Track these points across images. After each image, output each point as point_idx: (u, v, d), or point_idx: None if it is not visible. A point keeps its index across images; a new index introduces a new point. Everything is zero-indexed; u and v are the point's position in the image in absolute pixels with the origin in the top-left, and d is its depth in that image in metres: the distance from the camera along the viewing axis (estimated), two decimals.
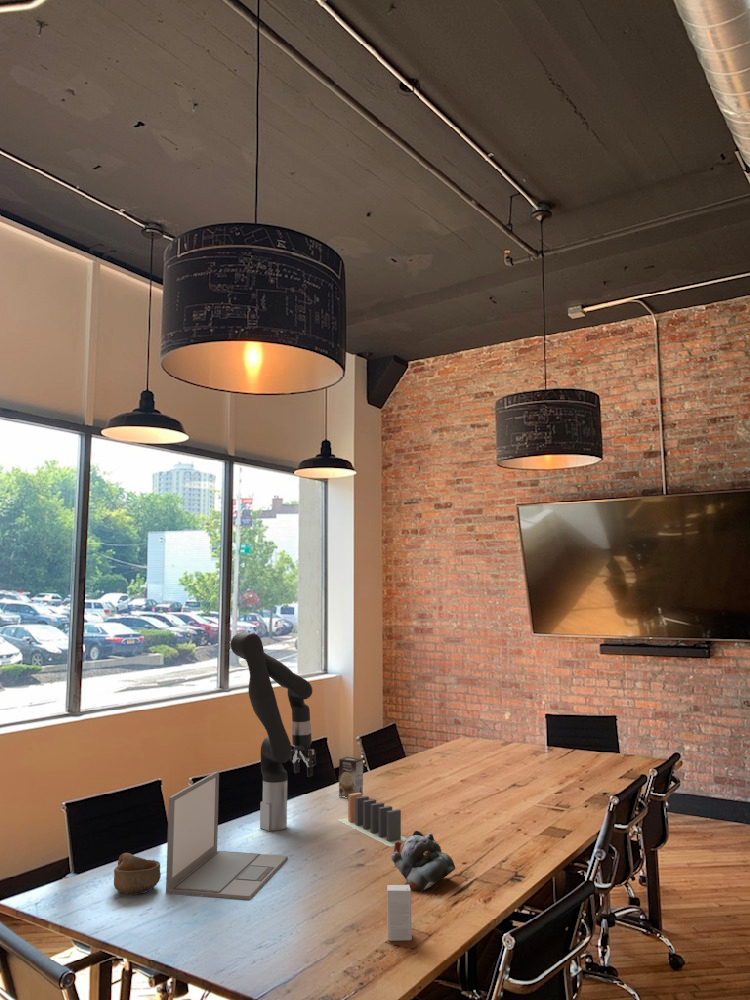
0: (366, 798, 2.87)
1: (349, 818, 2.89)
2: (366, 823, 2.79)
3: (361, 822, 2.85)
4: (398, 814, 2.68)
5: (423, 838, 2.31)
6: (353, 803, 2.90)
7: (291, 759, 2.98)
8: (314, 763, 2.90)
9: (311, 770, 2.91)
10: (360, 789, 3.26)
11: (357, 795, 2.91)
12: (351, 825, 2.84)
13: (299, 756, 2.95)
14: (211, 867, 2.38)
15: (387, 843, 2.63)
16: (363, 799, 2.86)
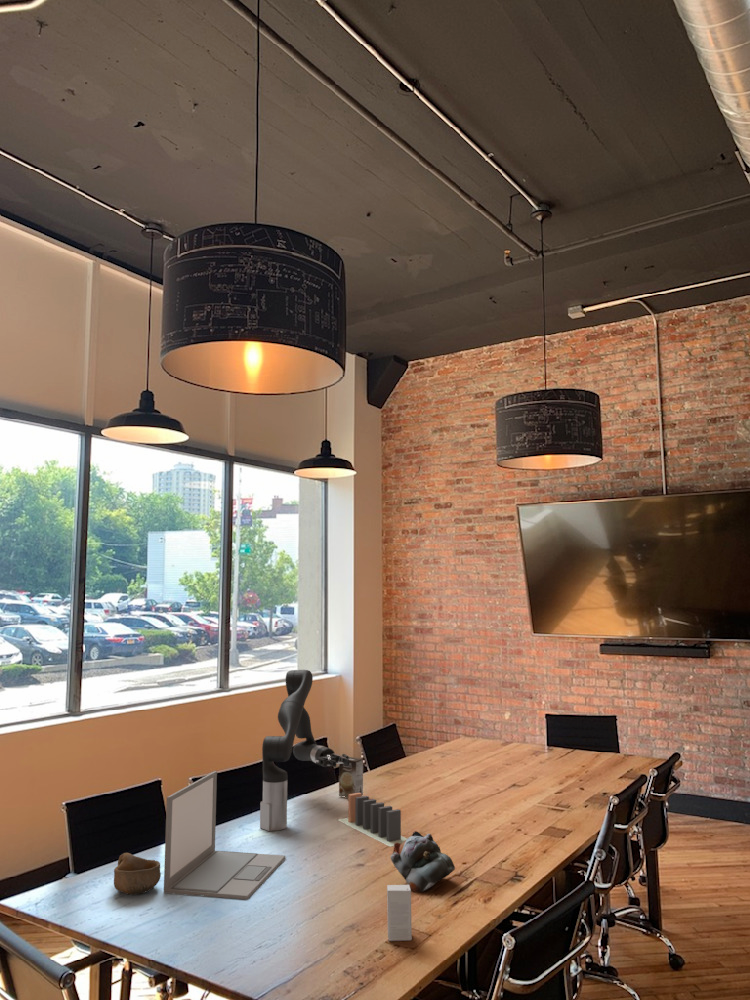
0: (366, 798, 2.87)
1: (349, 818, 2.89)
2: (366, 823, 2.79)
3: (361, 822, 2.85)
4: (398, 814, 2.68)
5: (422, 839, 2.31)
6: (353, 803, 2.90)
7: (325, 759, 3.04)
8: None
9: None
10: (360, 789, 3.26)
11: (357, 795, 2.91)
12: (351, 825, 2.84)
13: (332, 757, 3.08)
14: (209, 867, 2.38)
15: (387, 843, 2.63)
16: (363, 799, 2.86)
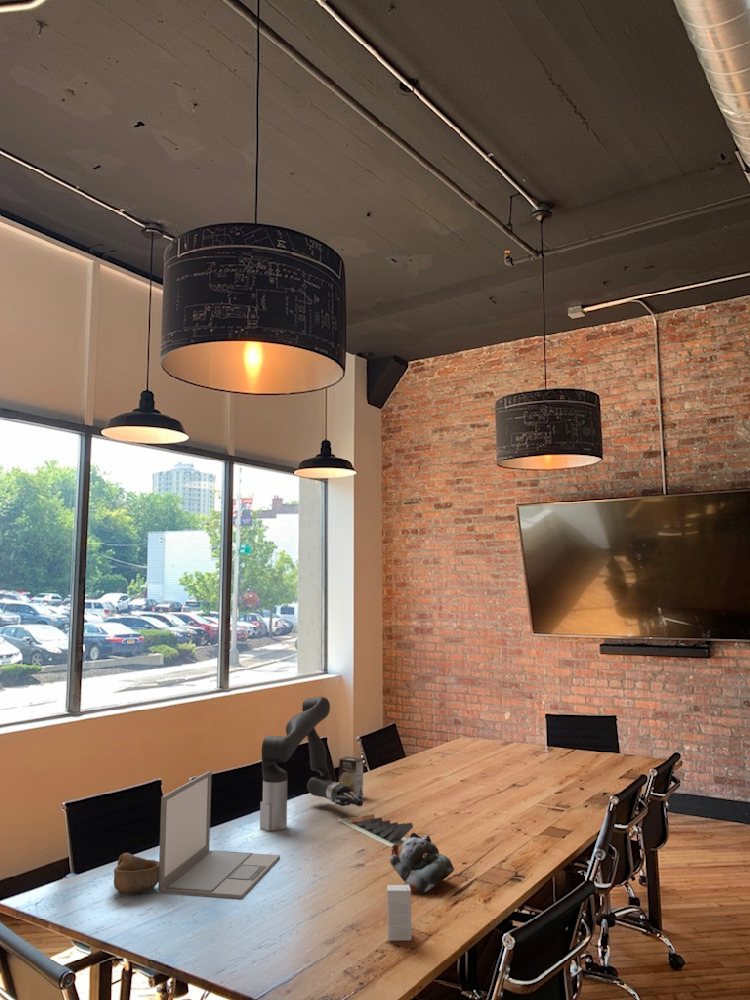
0: None
1: (352, 820, 2.87)
2: None
3: None
4: (409, 829, 2.62)
5: (421, 840, 2.29)
6: None
7: (348, 797, 2.91)
8: None
9: None
10: (360, 789, 3.26)
11: None
12: (351, 825, 2.84)
13: (350, 795, 2.95)
14: (203, 866, 2.38)
15: (387, 843, 2.63)
16: None
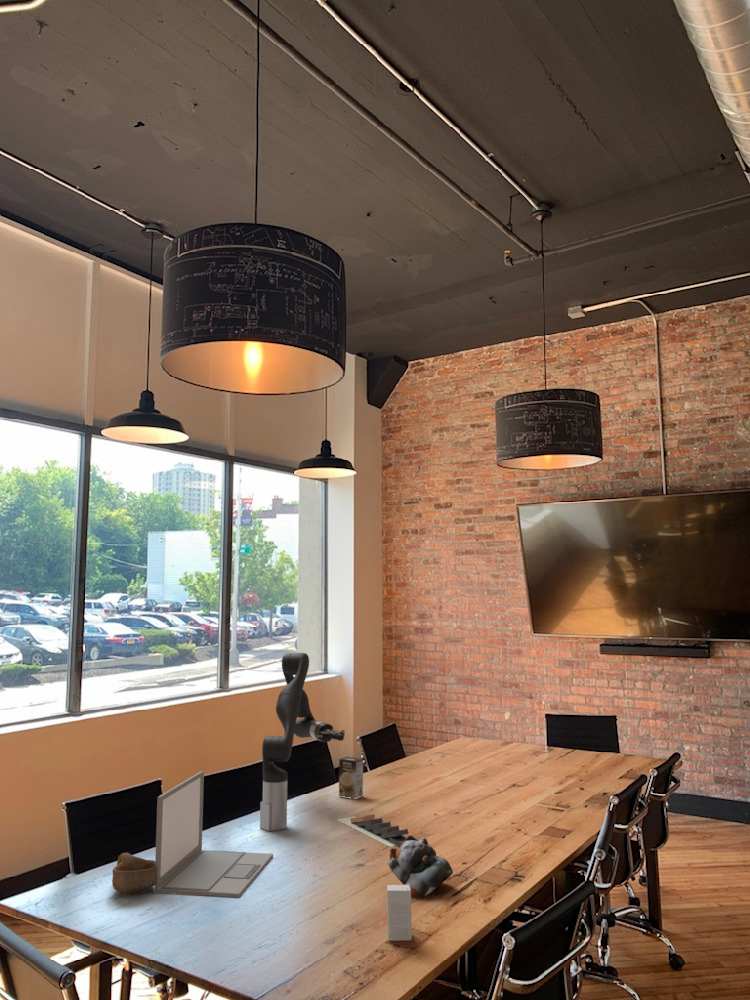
0: None
1: (352, 820, 2.87)
2: (369, 829, 2.77)
3: None
4: None
5: (419, 843, 2.27)
6: None
7: (330, 733, 3.06)
8: None
9: None
10: (360, 789, 3.26)
11: (370, 819, 2.82)
12: (351, 825, 2.84)
13: None
14: (198, 866, 2.38)
15: (387, 843, 2.63)
16: (376, 823, 2.77)
